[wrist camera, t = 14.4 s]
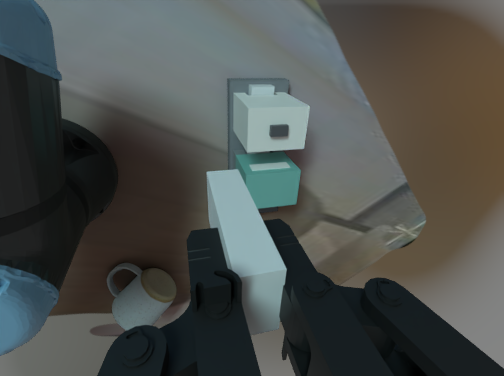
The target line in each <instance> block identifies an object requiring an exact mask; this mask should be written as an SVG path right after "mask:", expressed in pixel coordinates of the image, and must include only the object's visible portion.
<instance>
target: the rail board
mask: <svg viewBox="0 0 504 376" xmlns="http://www.w3.org/2000/svg"><path fill="white" fill-rule="evenodd" d="M288 87H289V80H287V79H228V170H233V150H244V151H245V153H246V154H258V153H270V151H278V150H294V149H304V145H305V138H306V131H307V124H308V116H309V109H310V106H308V105H306V104H305V103H303V102H301V101H299V100H298V99H296V98H294V97H292V96H291V95H289V94H288ZM258 211H259V213H265V212H273V211H278V206H277V207H268V208H260V209H258Z"/></svg>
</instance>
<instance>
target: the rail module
mask: <svg viewBox="0 0 504 376" xmlns="http://www.w3.org/2000/svg"><path fill="white" fill-rule="evenodd" d="M234 169H238V170H239V172H240V174H241V176H242V179H243V181H244V183H245V185H246V187H247V189H248V191H249V193H250V195H251V197H252V199H253V201H254V203H255V205H256V207H257V209H260V208H268V207H277V206H286V205H294V204H296V202H297V195H298V188H299V181H300V173H301V170H300V169H299V168H298V167H297V166H296V165H295V164H294V163H293V161H292V160H291V159H290V158H289V157H288V156H287V155H286V154H285V153H284V152H283V151H282V150H278V151H270V153H258V154H246V153H245V151H244V150H233V170H234Z"/></svg>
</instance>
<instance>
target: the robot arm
mask: <svg viewBox="0 0 504 376" xmlns="http://www.w3.org/2000/svg"><path fill="white" fill-rule="evenodd" d="M59 80H60V81H61V80H62V75H61V74H60V72H59V71H58V70H57V63H56V56H55V48H54V40H53V32H52V27H51V23H50V21H49V19H48V17H47V15H46V13H45V12H44V10H43V9H42V8H41V7H40V6H39V5H38V4H37V3H36V2H35V1H34V0H0V356H1V355H4V354H6V353H9V352H11V351H12V350H14V349H15V348H17V347H19V346H22V345H23V344H25V343H27V342H28V341H29V340H30V339H32V338H33V337H34V336H35V335H36V334H37V333H38V332H39V331H40V329H41V328H42V326H43V325H44V323H45V321H46V319H47V317H48V315H49V313H50V311H51V310H52V308H53V307H54V306H55V305H56V304H57V302H58V298H59V291H60V289H61V286H62V284H63V281H64V279H65V276H66V274H67V271H68V269H69V266H70V264H71V261H72V259H73V256H74V254H75V251H76V249H77V247H78V244H79V242H80V239H81V237H82V234H83V232H84V229H85V227H86V226H87V225H88V224H89V223H90V222H91V221H93V220H94V219H96V218H97V217H98V216H100V215H101V214H102V213H103V212H104V211H105V210H106V209H107V207H108V206H109V204H110V203H111V201H112V199H113V196H114V194H115V190H116V187H117V183H118V172H117V167H116V164H115V161H114V159H113V156H112V155H111V153H110V151H109V150H108V149H107V147H106V146H105V145H104V144H103V142H102V141H101V140H100V139H98V138H97V137H96V136H95V135H94V134H92V133H91V132H90V131H88V130H87V129H85V128H83V127H82V126H80V125H78V124H75V123H73V122H71V121H68V120H65V119H62V116H61V101H60V86H59ZM207 192H208V212H209V222H210V227H211V228H209V229H201V230H194V231H191V233H190V235H189V237H188V239H187V250H188V261H189V273H190V285H191V290H190V293H191V301H190V304H189V306H188V308H187V309H186V311H185V312H184V313H183V314H182V315H181V316H180V317H179V318H178V319H176V320H175V321H173V322H171V323H169V324H167V325H166V326H164V327H162V328H160V329H158V328H157V327H155V326H150V325H141V326H135V327H133V328H131V329H129V330H127V331H125V332H124V333H122V334H121V335H120V336H119V337H118V338H117V339H116V340H115V341H114V342H113V344H112V345H111V347H110V349H109V350H108V352H107V354H106V357H105V359H104V361H103V364H102V366H101V369H100V371H99V373H98V375H97V376H261V373H260V370H259V366H258V362H257V358H256V355H255V351H254V347H253V343H252V340H251V336H250V335H255V334H259V333H264V332H268V331H273V330H277V329H279V323H280V320H281V322H282V325H283V327H284V330H285V336H284V342H283V348H282V358H283V360H286V357H287V353H288V356H289V359H290V361H291V364H292V367H293V370H294V372H295V375H296V376H504V369H503V368H502V367H501V366H500V365H499V364H497V363H496V362H495V361H494V360H492V359H491V358H490V357H489V356H487V355H486V354H485V353H484V352H483V351H481V350H480V349H479V348H477V347H476V346H475V345H474V344H473V343H471V342H470V341H469V340H468V339H466V338H465V337H464V336H463V335H462V334H460V333H459V332H458V331H457V330H456V329H454V328H453V327H452V326H451V325H449V324H448V323H447V322H446V321H444V320H443V319H442V318H441V317H440V316H438V315H437V314H436V313H435V312H433V311H432V310H431V309H430V308H429V307H427V306H426V305H425V304H424V303H422V302H421V301H420V300H419V299H417V298H416V297H415V296H414V295H413V294H411V293H410V292H409V291H408V290H406V289H405V288H404V287H402V286H401V285H399V284H398V283H396V282H395V281H392V280H389V279H386V278H374V279H370V280H369V281H368V282H367V283H366V284H365V287H364V289H362V288H352V287H343V286H338V285H335V284H334V283H333V281H332V280H331V279H330V278H328V277H327V276H325V275H323V274H321V273H318V272H317V271H316V269H315V268H314V266H313V264H312V263H311V261H310V259H309V258H308V256H307V254H306V253H305V251H304V250H303V248H302V246H301V245H300V244H299V241H298V240H297V238H296V236H294V233H293V231H292V230H291V228H290V226H289V225H287V224H286V223H285V222H283V221H282V220H281V219H273V220H266V221H263V220H262V217H261V215H260V213H259V211H258V209H257V207H256V205H255V203H254V201H253V199H252V197H251V195H250V193H249V191H248V189H247V187H246V185H245V183H244V181H243V179H242V176H241V174H240V172H239V170H238V169H234V170H221V171H209V172H207Z"/></svg>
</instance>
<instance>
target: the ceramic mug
mask: <svg viewBox="0 0 504 376" xmlns="http://www.w3.org/2000/svg"><path fill="white" fill-rule="evenodd" d="M122 269H128V270H130V271H132V272H134V273H135V274H136V275H137V276H136V278H135V279H134V280H133V281H131V283H130V284H129V285H128V286H127V287H125V288H124V289H123V290H122V291H119V289H118V288H117V287H116V286H115V284H114V282H113V275H114V274H115V273H116V272H117V271H118V270H122ZM107 285H108V288H109V290H110V292H111V293H112V294H113V295H114V297H115V299H114V301H113V304H112V313H113V316H114V318H115V320H116V321H117V323H118V324H119V325H120V326H121V327H122V328H123V329H125V330H126V331H127V330H129V329H131V328H133V327H135V326H141V325H150V326H152V325H153V324H154V323H155V322H156V321H157V320H158V318H159V317H160V316H161V315H162V314H163V313H164V312H165V310H166V309H167V308H168V307H169V306H170V305H171V304H172V302H173V300H174V299H175V297H176V293H177V288H176V284H175V282H174V280H173V279H172V278H171V276H170V275H169V274H168V273H166V272H165V271H163V270H161V269H158V268H148V269H146V270H144V271H142V270H141V269H140V268H139V267H138V266H135V265H133V264H131V263H122V264H119V265H117V266H116V267H115V268H114V269H113V270H112V271H111V272H110V273H109V274H108V276H107Z"/></svg>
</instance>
